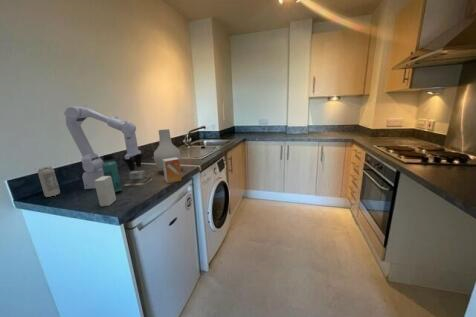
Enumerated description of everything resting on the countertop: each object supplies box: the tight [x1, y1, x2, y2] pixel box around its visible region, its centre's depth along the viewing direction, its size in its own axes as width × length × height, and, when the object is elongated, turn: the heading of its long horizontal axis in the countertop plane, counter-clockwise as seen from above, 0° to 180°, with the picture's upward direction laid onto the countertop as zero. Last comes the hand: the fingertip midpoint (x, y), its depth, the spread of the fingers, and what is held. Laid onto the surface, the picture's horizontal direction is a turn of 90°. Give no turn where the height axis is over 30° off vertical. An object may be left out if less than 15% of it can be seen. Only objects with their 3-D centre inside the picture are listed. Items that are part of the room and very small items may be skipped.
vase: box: [153, 129, 181, 171], centre depth 131 cm, size 17×16×28 cm
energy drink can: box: [37, 165, 61, 198], centre depth 101 cm, size 6×6×15 cm
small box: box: [162, 157, 183, 184], centre depth 115 cm, size 8×6×13 cm
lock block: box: [128, 170, 147, 181], centre depth 115 cm, size 7×4×6 cm, turn 92°
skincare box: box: [94, 176, 117, 207], centre depth 89 cm, size 6×4×12 cm
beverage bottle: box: [102, 153, 122, 193], centre depth 100 cm, size 6×7×20 cm
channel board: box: [123, 175, 153, 187], centre depth 116 cm, size 12×9×2 cm
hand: (135, 168), depth 115 cm, fingers open, 7 cm apart
